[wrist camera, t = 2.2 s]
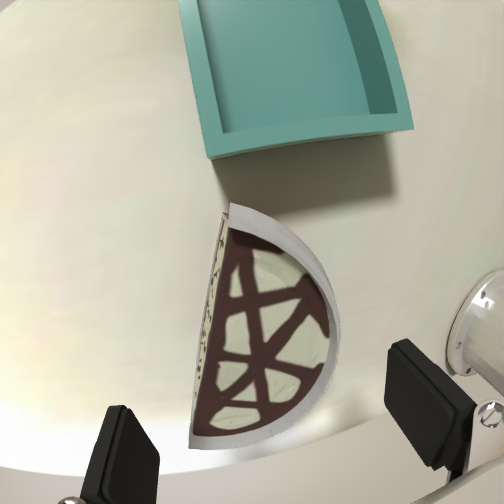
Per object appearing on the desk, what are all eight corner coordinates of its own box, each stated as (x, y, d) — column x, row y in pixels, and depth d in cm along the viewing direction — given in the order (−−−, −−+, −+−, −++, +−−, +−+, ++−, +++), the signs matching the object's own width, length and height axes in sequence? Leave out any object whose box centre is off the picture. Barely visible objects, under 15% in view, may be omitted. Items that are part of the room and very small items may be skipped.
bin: (319, -54, 14) (335, -83, 10) (379, 134, 19) (414, 129, 15) (173, -44, 14) (166, -76, 10) (210, 160, 19) (207, 157, 15)
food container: (273, 363, 23) (301, 460, 14) (196, 352, 22) (187, 454, 13) (316, 209, 20) (392, 244, 11) (227, 190, 19) (231, 208, 10)
